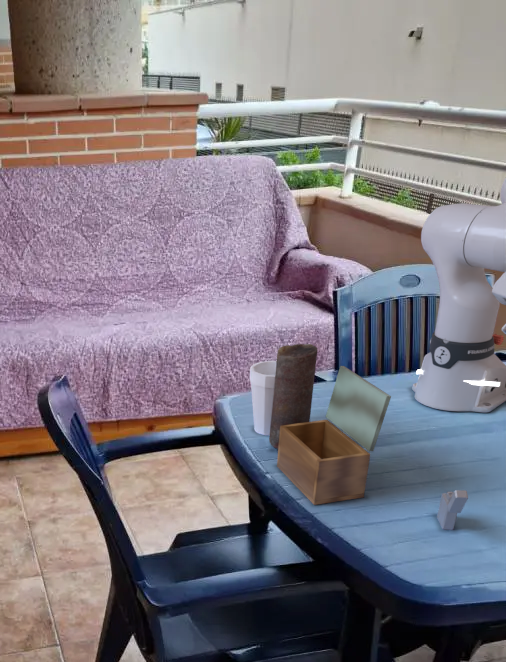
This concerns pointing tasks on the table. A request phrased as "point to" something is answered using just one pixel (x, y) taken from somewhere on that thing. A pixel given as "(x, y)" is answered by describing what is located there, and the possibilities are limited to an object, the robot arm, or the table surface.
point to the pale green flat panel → (357, 407)
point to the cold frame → (322, 461)
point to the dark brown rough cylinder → (292, 387)
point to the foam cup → (262, 394)
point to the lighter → (451, 508)
